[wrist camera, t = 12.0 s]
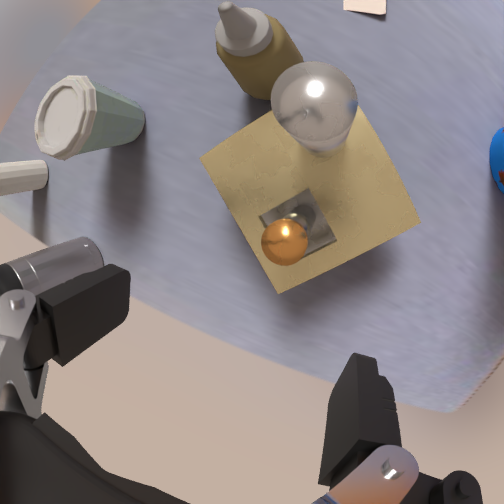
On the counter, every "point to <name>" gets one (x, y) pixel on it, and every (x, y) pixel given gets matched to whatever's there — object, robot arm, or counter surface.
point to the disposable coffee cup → (85, 118)
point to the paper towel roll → (22, 176)
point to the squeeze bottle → (254, 48)
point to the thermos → (498, 158)
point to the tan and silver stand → (312, 173)
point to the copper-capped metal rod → (288, 236)
